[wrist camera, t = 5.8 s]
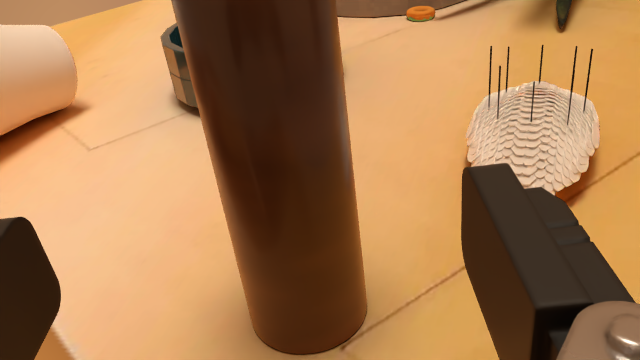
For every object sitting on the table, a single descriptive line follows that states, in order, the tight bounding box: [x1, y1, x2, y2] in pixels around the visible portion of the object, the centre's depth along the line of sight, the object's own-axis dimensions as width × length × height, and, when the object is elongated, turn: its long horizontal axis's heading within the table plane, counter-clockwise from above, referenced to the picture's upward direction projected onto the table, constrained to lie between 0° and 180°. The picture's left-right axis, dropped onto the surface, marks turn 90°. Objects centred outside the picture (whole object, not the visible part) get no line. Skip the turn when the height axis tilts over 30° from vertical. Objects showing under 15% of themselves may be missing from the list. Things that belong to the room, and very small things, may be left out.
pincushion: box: [466, 45, 600, 195], centre depth 28 cm, size 12×6×6 cm, turn 157°
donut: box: [406, 6, 435, 22], centre depth 52 cm, size 2×10×1 cm, turn 114°
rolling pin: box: [171, 0, 367, 354], centre depth 18 cm, size 4×4×16 cm
